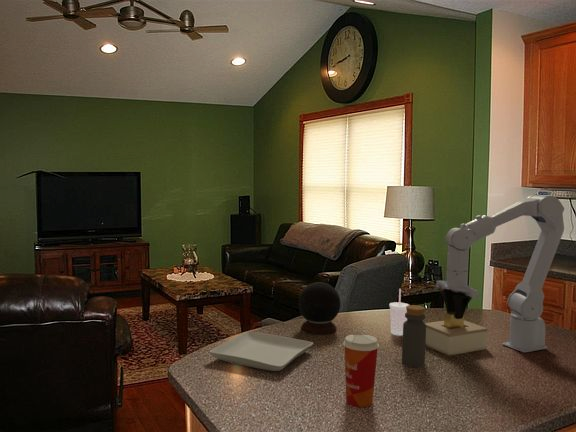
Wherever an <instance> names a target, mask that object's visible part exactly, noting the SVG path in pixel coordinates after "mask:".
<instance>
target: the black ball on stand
mask: <svg viewBox="0 0 576 432" xmlns="http://www.w3.org/2000/svg"><path fill="white" fill-rule="evenodd" d="M340 309H341V298H340V295H339V292H338V291H337V290H336V289H335V287H334V286H332V285H331V284H329V283H327V282H323V281H317V282H316V281H315V282H313V283H309V284H307V286H305V287H304V288H303V289H302V291H301V292H300V294H299V297H298V310H299V313H300V314H301V316H302V317H303V318H304V319H305V321H304V322H303V323H302V324H301V325H300V330H301V331H302V332H304V333H306V334H309V335H316V336H319V335H320V336H323V335H324V336H325V335H326V336H327V335H331V334H335V333H336V332H337V328H338V327H337V326H336V325H335V323H334V322H332V321H333V320H335V318H336V317H337V316H338V314H339V313H340Z"/></svg>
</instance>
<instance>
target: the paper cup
mask: <svg viewBox="0 0 576 432" xmlns="http://www.w3.org/2000/svg"><path fill="white" fill-rule="evenodd" d="M342 345H343V347H344V369H345V370H344V371H345V372H344V374H345V375H344V376H345V377H344V378H345V399H346V404H348V405H349V406H351V407H353V408H354V407H355V408H367V407H370V406H372V405H373V400H374V399H373V398H374V392H375V391H374V390H375V382H376V381H375V379H376V370H377V368H376V367H377V359H378V358H377V357H378V349H379V347H380V344H379V342H378V339H377V337H375V336H372V335H370V334H369V335H368V334H361V333H360V334H355V335H354V334H349V335H346V337H345V338H344V341H343V343H342Z"/></svg>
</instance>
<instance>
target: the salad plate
mask: <svg viewBox="0 0 576 432" xmlns="http://www.w3.org/2000/svg"><path fill="white" fill-rule="evenodd" d="M313 345H314V342H313V341H309V340H303V339H298V338H293V337H286V336H282V335H277V334H276V335H275V334H269V333H264V332H257V331H249V330H248V331H245V332H243V333H241V334H240V335H237V336H234V337H233V338H231V339H229V340H227V341H225V342H223V343H221V344H220V345H217V346H216V347H214V348H212V349H210V350H209V351H208V352H209V354H210V355H211V356H212V357H214V358H215V359H217V360H221V361H225V362H227V363H230V364H234V365H239V366H243V367H247V368H248V367H249V368H254V369H257V370H258V369H259V370H263V371H270V372H279V371H282V370H284V368H285V367H287V366H288V365H289V364H290V363H291V362H293V361H294V360H295V359H297V358H298V357H300V356H301V355H303V354H304V353H306V352H307V351H309V349H311V348H312V346H313Z"/></svg>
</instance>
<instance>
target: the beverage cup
mask: <svg viewBox="0 0 576 432" xmlns="http://www.w3.org/2000/svg"><path fill="white" fill-rule="evenodd" d="M398 292H399V293H398V302H397V301H396V302H395V301H394V302H390V303H389V304H388V305H389V310H390V312H389V313H390V314H389V315H390V334H392V335H393V336H394V335H395V336H403V323H404V322H405V321H407V318H406V317H405V313H406V312H407V310H406V306H408V305H410V304H409V303H405V302H401V300H402V299H401V298H402V297H401V296H402V294H401V293H402V289H401V288H399V289H398Z"/></svg>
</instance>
